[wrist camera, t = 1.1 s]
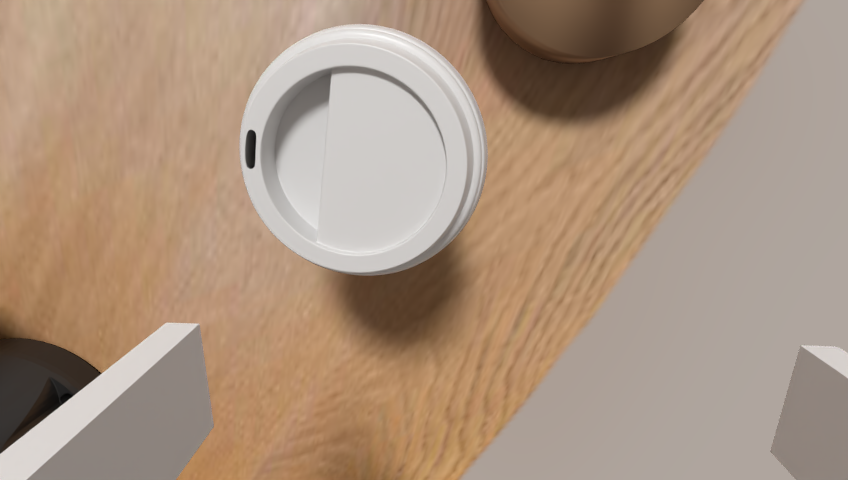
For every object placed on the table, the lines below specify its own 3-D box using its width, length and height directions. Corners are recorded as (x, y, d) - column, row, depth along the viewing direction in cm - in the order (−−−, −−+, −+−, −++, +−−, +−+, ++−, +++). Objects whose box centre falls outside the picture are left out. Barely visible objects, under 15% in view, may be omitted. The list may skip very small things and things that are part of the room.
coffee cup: (371, 26, 28) (289, -51, 14) (500, 109, 29) (549, 117, 15) (302, 159, 31) (175, 210, 17) (424, 231, 32) (402, 337, 18)
